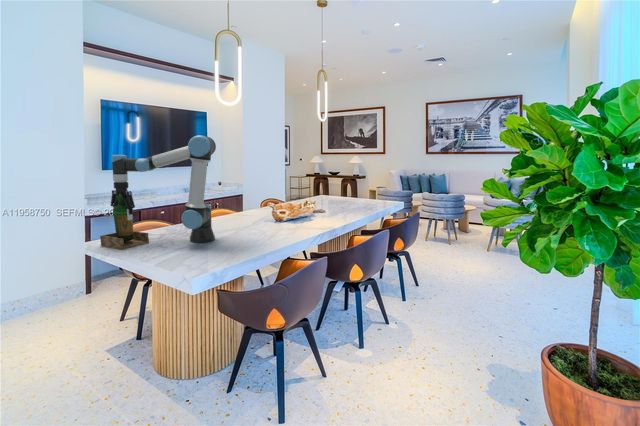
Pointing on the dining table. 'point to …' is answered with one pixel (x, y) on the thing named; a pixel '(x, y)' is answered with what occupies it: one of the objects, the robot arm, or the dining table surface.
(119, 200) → the bottle
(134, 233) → the tray
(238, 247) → the dining table surface
